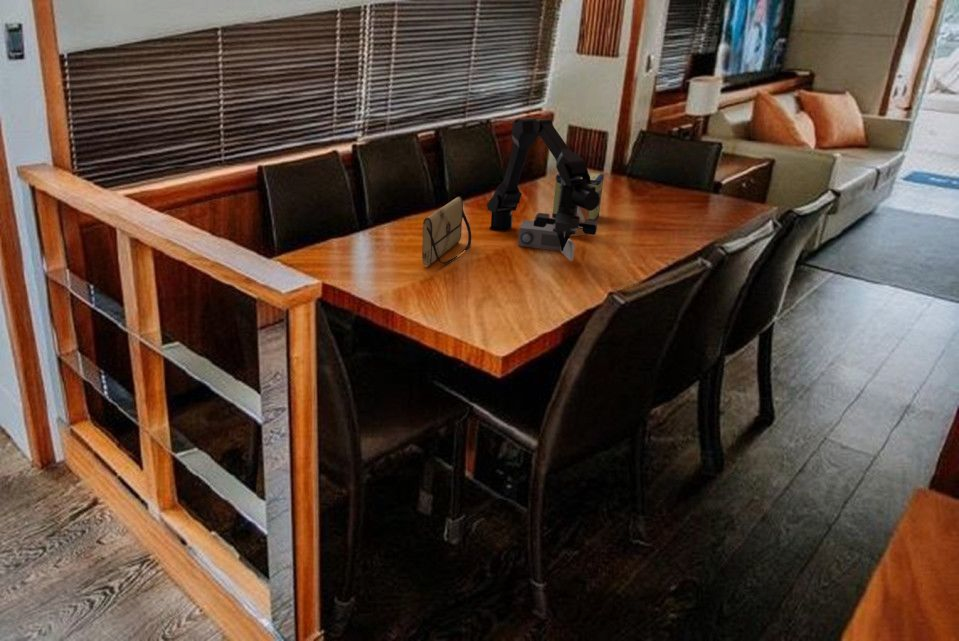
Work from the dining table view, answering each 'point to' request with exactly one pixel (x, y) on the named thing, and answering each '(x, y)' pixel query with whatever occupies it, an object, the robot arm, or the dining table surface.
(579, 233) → the small box
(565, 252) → the side door
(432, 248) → the clutch purse
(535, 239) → the camera block
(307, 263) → the dining table surface
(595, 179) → the protein box
